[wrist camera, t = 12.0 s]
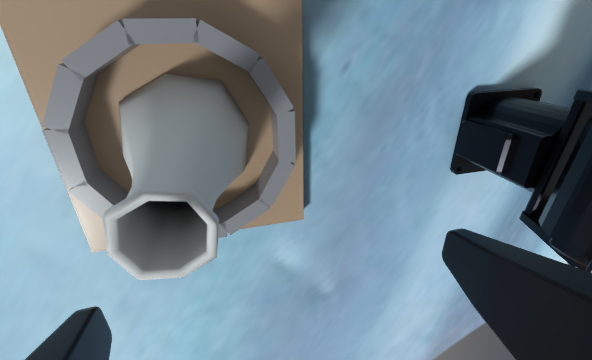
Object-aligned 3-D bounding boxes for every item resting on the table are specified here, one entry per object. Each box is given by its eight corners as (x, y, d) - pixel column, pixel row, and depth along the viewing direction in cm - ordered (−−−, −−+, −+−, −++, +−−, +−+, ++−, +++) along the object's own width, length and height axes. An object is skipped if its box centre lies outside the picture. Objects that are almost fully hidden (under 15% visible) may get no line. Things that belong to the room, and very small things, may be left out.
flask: (93, 87, 15) (-68, 155, 6) (234, 60, 16) (259, 88, 7) (148, 204, 19) (91, 355, 10) (261, 176, 20) (301, 288, 11)
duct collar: (297, 0, 17) (313, -7, 14) (300, 212, 23) (311, 235, 20) (2, -2, 14) (-48, -11, 11) (97, 242, 20) (79, 274, 17)
